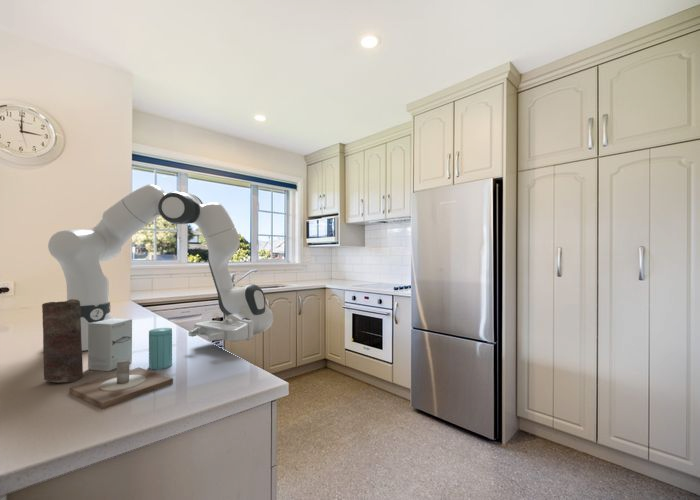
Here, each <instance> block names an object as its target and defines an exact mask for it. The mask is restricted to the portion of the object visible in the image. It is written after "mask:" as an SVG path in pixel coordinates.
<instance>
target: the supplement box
mask: <svg viewBox="0 0 700 500" xmlns="http://www.w3.org/2000/svg"><path fill="white" fill-rule="evenodd" d="M121 360H129V364H131V363H133V361H132V360H133V319H132V318H115V317H114V318H111V319H107V320H102V321H98V322H93V323H89V324H88V350H87V369H88V370H92V371H94V370H95V371H104V372H111V371H112V370H115V369H117V362H118V361H121Z"/></svg>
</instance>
